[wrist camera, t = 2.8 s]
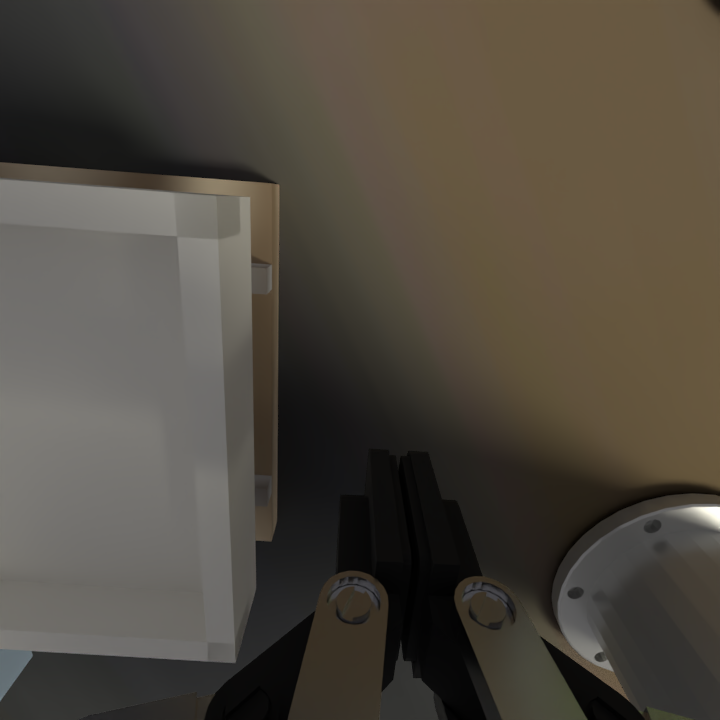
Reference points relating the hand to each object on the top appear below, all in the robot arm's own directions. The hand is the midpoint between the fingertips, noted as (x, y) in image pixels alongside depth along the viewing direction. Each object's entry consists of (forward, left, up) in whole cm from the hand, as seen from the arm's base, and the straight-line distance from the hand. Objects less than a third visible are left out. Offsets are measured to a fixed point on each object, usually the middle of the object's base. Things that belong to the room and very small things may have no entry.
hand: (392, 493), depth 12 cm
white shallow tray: (+11, 0, -6) cm, 13 cm away
